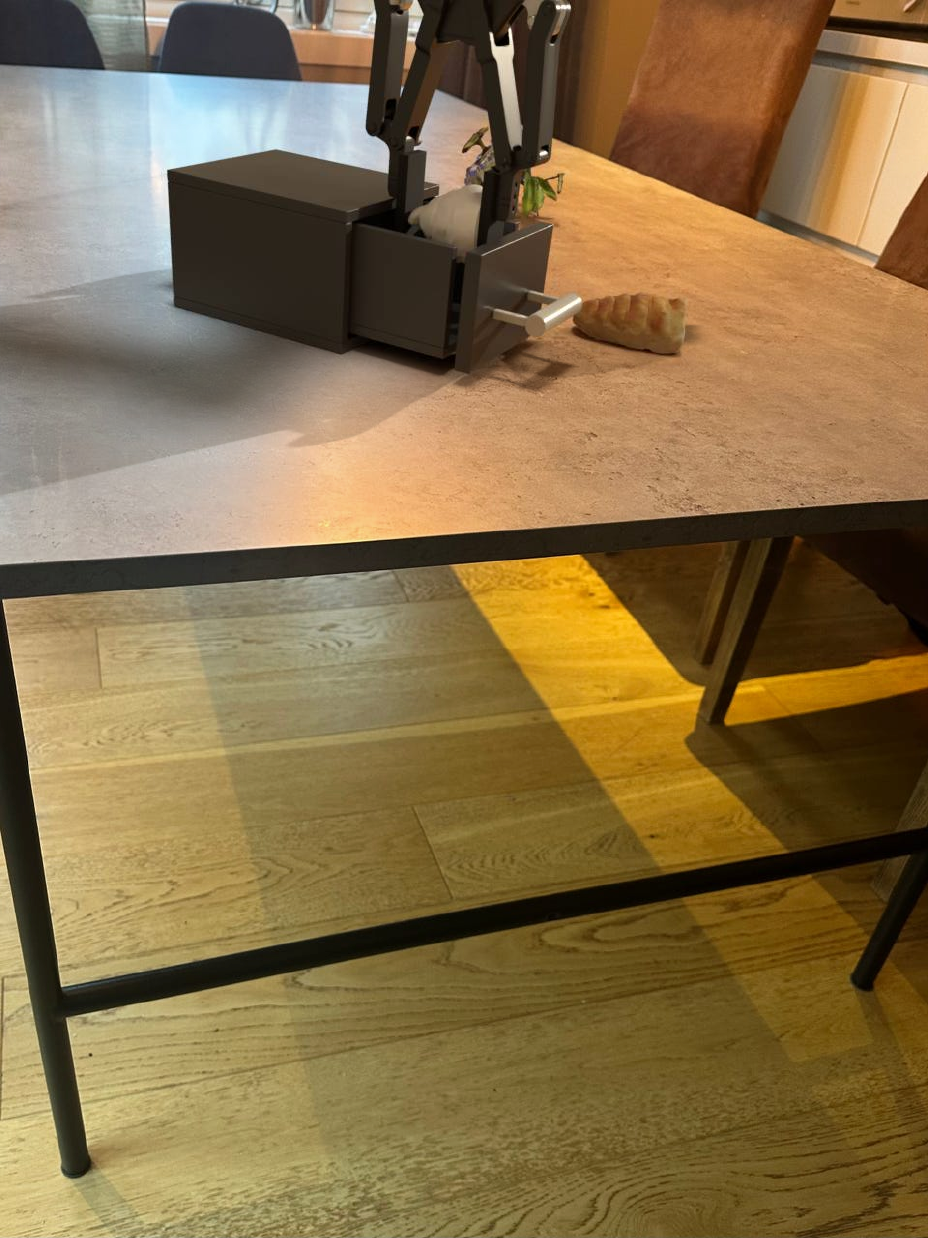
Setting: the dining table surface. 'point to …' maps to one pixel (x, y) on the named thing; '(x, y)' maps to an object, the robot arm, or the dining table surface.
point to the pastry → (635, 321)
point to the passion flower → (532, 184)
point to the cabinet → (272, 241)
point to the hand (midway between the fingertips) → (446, 254)
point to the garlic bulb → (452, 218)
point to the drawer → (452, 291)
